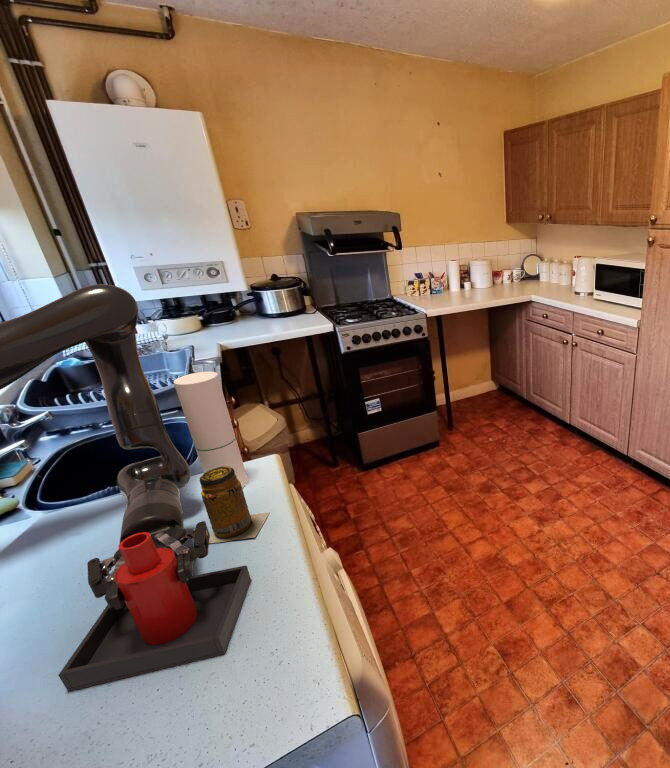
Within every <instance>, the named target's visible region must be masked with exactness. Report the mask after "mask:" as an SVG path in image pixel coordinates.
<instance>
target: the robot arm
mask: <svg viewBox="0 0 670 768" xmlns="http://www.w3.org/2000/svg"><path fill="white" fill-rule="evenodd" d="M138 320H139V306H138V302H137V301H136V299H135V297H134V296H133V295H132V294H131V293H130V292H129V291H127V290H125V289H124V288H122V287H120V286H116V285H113V284H105V283H100V284H99V283H98V284H97V283H95V284H90V285H86V286H82V287H80V288H78V289H76V290H74V291H71V292H70V293H67V294H66V295H64V296H61V297H60V298H57V299H55V300H53V301H51V302H49V303H47V304H45V305H42V306H41V307H39V308H36V309H34V310H32V311H30V312H28V313H24V314H23V315H19V316H17V317H15V318H11V319H8V320H5V321H3V322H0V391H1V390H3V389H5V388H6V387H8V386H10V385H11V384H13V383H15V382H17V381H18V380H20V379H21V378H23V377H24V376H26V375H27V374H30V372H32V371H33V370H34V369H36V368H37V367H39V366H40V365H42V364H43V363H45V362H46V361H47V360H50V359H51V358H52V357H54V356H55V355H58V354H59V353H62V352H64V351H66V350H69V349H70V348H74V347H76V346H79V345H81V344H84V343H85V345H86V347H87V348H88V350H89V352H90V354H91V356H92V358H93V361H94V362H95V365H96V369H97V371H98V374H99V377H100V380H101V381H100V382H101V385H102V389H103V394H104V398H105V402H106V407H107V411H108V415H109V418H110V421H111V424H112V428H113V431H114V435H115V438H116V441H117V443H118V445H119V447H120V448H121V449H123V450H128V451H129V450H140V449H141V450H142V449H152V450H155V451H156V452H158V453H159V456H155V457H151V458H148V459H145V460H141V461H136V462H134V463H131V464H128V465H126V466H124V467H123V468H121V469H120V471H119V472H118V473H117V475H116V485H117V488H118V490H119V493H120V494H121V496H122V497H123V498H124V499H125V501H126V508H125V511H124V513H123V517H122V523H121V528H120V529H121V530H120V537H119V544H120V543H121V542H122V541H123V540H124V539H126V538H127V537H129V536H131V535H134V534H136V533H141V532H147V533H150V535H151V537H152V540H153V542H154V545H155V547H156V548H169V549H171V550H172V551H174V553H175V556H176V558H177V572H178V576H179V578H180V581H181V583H182V584H183V583H186V582H188V578H189V577H191V576H194V563H195V562H194V561H196V560H197V559H199V560H200V559H204V558H206V557H207V556H208V555H209V549H210V548H209V547H210V543H209V538H210V535H211V534H210V531H209V528H208V526H207V523H206V521H204V520H202V521H199V522H198V523H196V524H195V527H194V528H191V529H188V530H187V529H185V527H184V518H185V517H184V516H185V513H184V512H183V507H182V503H181V493H180V490H181V489H183V488H185V487H186V486H187V485H189V483H190V480H191V478H192V477H191V476H192V470H191V467H190V466H189V464H188V462H187V461H186V459H185V458H184V456H183V455H182V454H181V453H180V451H179V450H178V449H177V447H176V446H175V445H174V443H173V441H172V440H171V438H170V436H169V434H168V431H167V429H166V426H165V424H164V420H163V416H162V414H161V411H160V408H159V405H158V402H157V398H156V396H155V394H154V391H153V389H152V387H151V385H150V383H149V380H148V378H147V376H146V374H145V372H144V369H143V367H142V364H141V360H140V356H139V353H138V347H137V335H136V334H137V333H136V328H137V324H138ZM189 539H191V540H192V541H193V545H192V546H190V547H188V546H186V543H188V541H189ZM124 563H125V561H124V559H123V557H122V554H121V552H120V550H119V548H118V549H117V550H116V551H115V552H114V553H113V556H111V557H108V558H105V559H103V560H100V558H99V557H95V558H92V559H90V560H88V561H87V563H86V565H87V583H88V585H89V587H90V589H91V592H92V593H93V595H94V597H95V598H96V599H99V598H102V597H104V600H105V602H106V604H107V605H108V606H109V607H110V609H111V608H113V607H114V608H115V610H118V609H121V608H123V607H124V599H123V597H122V594H121V592H120V590H119V588H118V586H117V584H116V582H115V580H114V578H115V573H116V571H117V570H118V569H119V567H120V566H121V565H123V564H124ZM112 568H114V569H113V570H112Z"/></svg>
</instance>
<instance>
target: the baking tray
mask: <svg viewBox="0 0 670 768" xmlns="http://www.w3.org/2000/svg"><path fill="white" fill-rule="evenodd" d="M251 581H252V578H251V575H250V572H249V568H248V566H247V565H240V566H235V567H231V568H226V569H221V570H216V571H215V570H214V571H211V572H205V573H200V574H195V575H192V576H191V577H189V578H188V582H186V584H187V586H188V589H189V591H190V594H191V596H192V599H193V601H194V604H195V606H196V610H197V618H196V620H195V622H194V623H193V625H192V626H191V627H190V628H189V629H188V630H187V631H186V632H185V633H183V634H182V635H181V636H179V637H177V638H176V639H174V640H172V641H169V642H167V643H164V644H159V645H150V644H147V643H146V642H145V641H144V639H143V638H142V637H141V634H140V632H139V630H138V628H137V626H136V624H135V622H134V620H133V618H132V615H131V613H130V611H129V609H128V607H127V605H126V603H125V601H124V607H123V608H121V609H118V610H115V608H114V607H113V608H111V609H110V607H109V606H108V604H107V605H106V606H105V607H104V609H103V610H102V612H101V613H100V615H99V617H98V618H97V619H96V621H95V622H94V624H93V625H92V626H91V628H90V629H89V631H88V632H87V633H86V635H85V636H84V638H83V639H82V641H81V642H80V644H79V645H78V646H77V648H76V649H75V651H74V652H73V653H72V655H71V656H70V657H69V659H68V661H67V662H66V664H65V665H64V666H63V667H62V669H61V671H60V672H59V673H58V678H59V679H60V682H61V683H62V684H63V686H64V687H65V690H66V691H67V692H73V691H77V690H81V689H85V688H89V687H94V686H98V685H102V684H107V683H111V682H115V681H119V680H122V679H127V678H132V677H136V676H140V675H144V674H148V673H152V672H157V671H160V670H165V669H169V668H173V667H177V666H181V665H186V664H189V663H193V662H197V661H202V660H207V659H209V658H214V657H218V656H222V655H225V654H226V652H227V648H228V646H229V643H230V640H231V638H232V635H233V632H234V629H235V627H236V623H237V621H238V618H239V615H240V612H241V610H242V606H243V604H244V600H245V599H246V595H247V592H248V590H249V586H250V584H251Z"/></svg>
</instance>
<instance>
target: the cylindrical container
mask: <svg viewBox="0 0 670 768" xmlns="http://www.w3.org/2000/svg"><path fill="white" fill-rule="evenodd" d="M220 381H221V380H220V377H219V375H218V373H217V372H215V371H198V372H193V373H189V374H185V375H182V376H179V377H178V378H176V379H174V380H173V385H174V388H175V391H176V394H177V397H178V400H179V403H180V406H181V410H182V413H183V415H184V419H185V421H186V424H187V428H188V431H189V433H190V436H191V439H192V442H193V446H194V449H195V452H196V455H197V458H198V462H199V464H200V468H201V470H202V474H204V473H205V472H207V471H209V470H211V469H214V468H218V467H223V466H226V467H231V468H233V469H234V471H235V475H236V477H237V479H238V480H239V481H240V483H241V486H242V489H244V488H245V487H246V486H247V485H248V483H249V479H248V475H247V471H246V468H245V464H244V461H243V457H242V454H241V451H240V448H239V444H238V440H237V436H236V433H235V430H234V427H233V423H232V420H231V416H230V413H229V409H228V406H227V402H226V399H225V396H224V391H223V389H222V385H221V382H220ZM247 482H248V483H247ZM246 484H247V485H246ZM245 485H246V486H245ZM244 486H245V487H244ZM243 487H244V488H243Z"/></svg>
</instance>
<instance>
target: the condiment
mask: <svg viewBox="0 0 670 768" xmlns="http://www.w3.org/2000/svg"><path fill="white" fill-rule="evenodd" d="M199 483H200V488H201V493H200V495H201V499H202V502H203V506H204V507H205V512H206V514H207V517H208V520H209V523H210V525H211V529H212V533H211V534H210V538H209V544H217V543H225V542H232V541H238V540H239V541H240V540H246V539H252V538H256V537H257V535H258V534H259V532H260V530H261V529H262V528H263V525H264V524H265V522H266V520H267V518H268V516H269V514H270V512H263V513H262V512H261V513H250V510H249V505H248V503H247V499H246V497H245V493H244V491H243V489H244V488H242V486H241V483H240V481H239V480H238V479H237V477H236V475H235V471H234V469H233V468H231V467H226V466H223V467H218V468H214V469H211V470H209V471H207V472H205V473H202V475H200V477H199Z"/></svg>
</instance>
